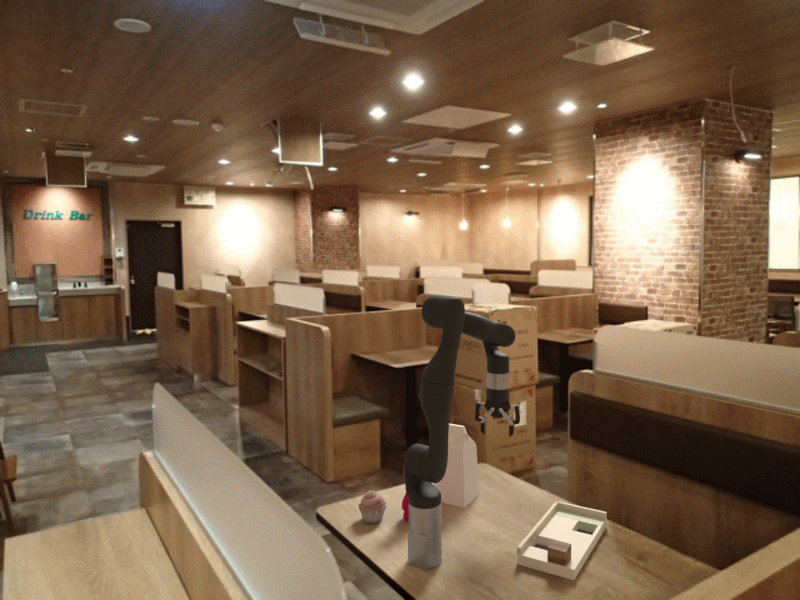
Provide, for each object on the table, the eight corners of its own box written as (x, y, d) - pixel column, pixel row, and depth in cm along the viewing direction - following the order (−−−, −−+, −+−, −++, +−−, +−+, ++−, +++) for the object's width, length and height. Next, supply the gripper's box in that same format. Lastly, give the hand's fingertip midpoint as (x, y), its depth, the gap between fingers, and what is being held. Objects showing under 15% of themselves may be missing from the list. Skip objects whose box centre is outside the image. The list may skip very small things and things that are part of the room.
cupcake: (391, 523, 199) (390, 493, 198) (363, 528, 196) (362, 498, 194) (381, 510, 208) (380, 482, 206) (354, 516, 204) (353, 486, 203)
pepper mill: (415, 526, 197) (414, 465, 194) (397, 519, 201) (396, 460, 199) (428, 517, 202) (427, 458, 200) (410, 511, 207) (409, 453, 204)
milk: (479, 495, 218) (479, 423, 215) (464, 508, 209) (464, 432, 206) (448, 488, 225) (448, 418, 222) (433, 500, 215) (432, 427, 212)
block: (565, 566, 167) (565, 552, 166) (547, 561, 169) (547, 547, 169) (571, 557, 171) (571, 544, 170) (553, 553, 173) (553, 539, 173)
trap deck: (574, 580, 165) (574, 562, 165) (517, 564, 174) (517, 547, 173) (606, 527, 194) (606, 512, 193) (555, 515, 202) (556, 500, 202)
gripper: (473, 387, 199) (473, 436, 200) (519, 390, 195) (518, 440, 196) (477, 381, 206) (477, 429, 207) (521, 384, 202) (520, 433, 203)
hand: (497, 434), depth 202 cm, fingers open, 8 cm apart
